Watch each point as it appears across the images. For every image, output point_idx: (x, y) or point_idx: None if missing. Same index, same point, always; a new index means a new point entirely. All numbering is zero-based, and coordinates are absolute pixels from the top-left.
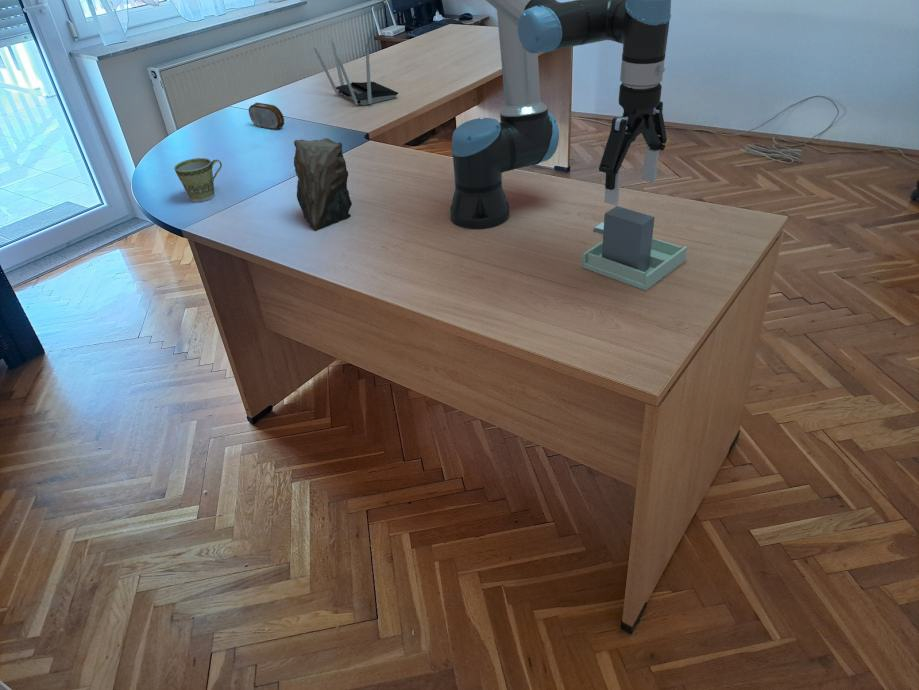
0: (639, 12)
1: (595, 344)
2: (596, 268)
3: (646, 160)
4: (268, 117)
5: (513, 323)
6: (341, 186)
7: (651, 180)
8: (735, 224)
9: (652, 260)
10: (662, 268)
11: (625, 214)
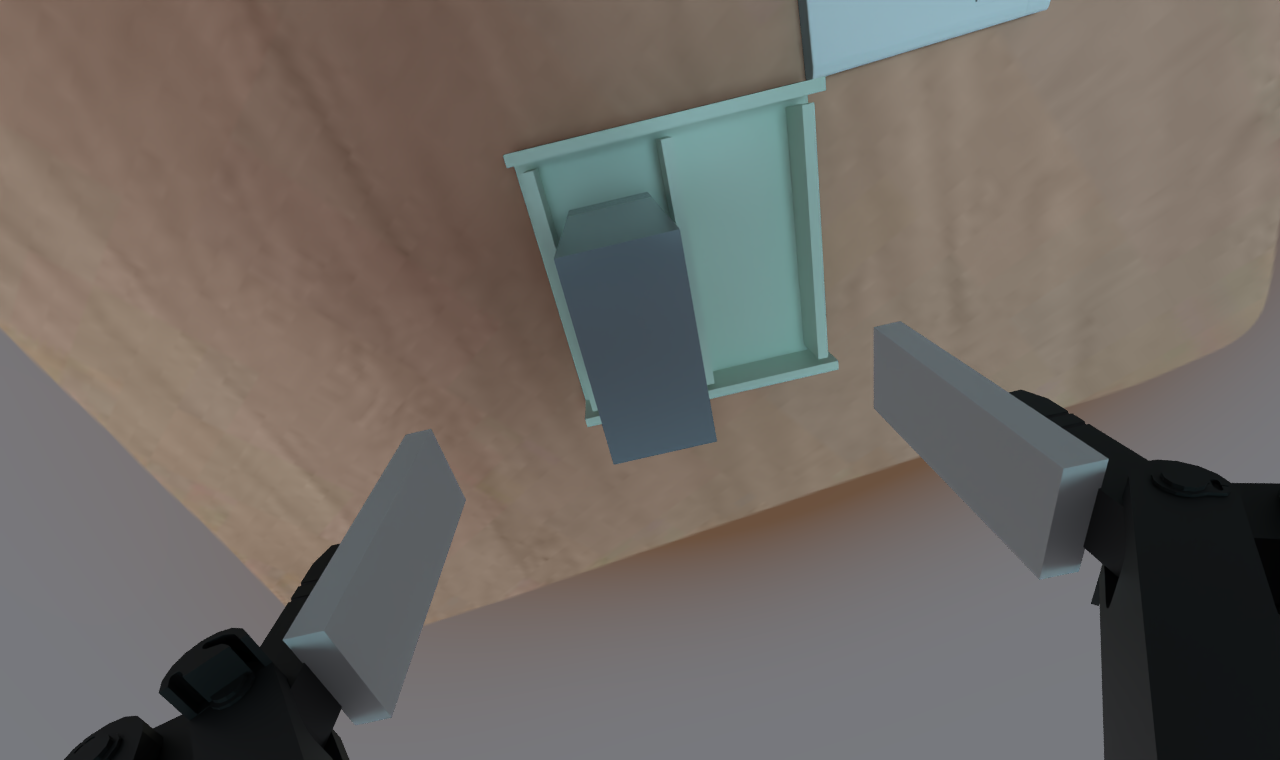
0: None
1: (304, 502)
2: (533, 223)
3: (971, 425)
4: None
5: (93, 304)
6: None
7: (880, 399)
8: (1148, 276)
9: None
10: None
11: (634, 341)
